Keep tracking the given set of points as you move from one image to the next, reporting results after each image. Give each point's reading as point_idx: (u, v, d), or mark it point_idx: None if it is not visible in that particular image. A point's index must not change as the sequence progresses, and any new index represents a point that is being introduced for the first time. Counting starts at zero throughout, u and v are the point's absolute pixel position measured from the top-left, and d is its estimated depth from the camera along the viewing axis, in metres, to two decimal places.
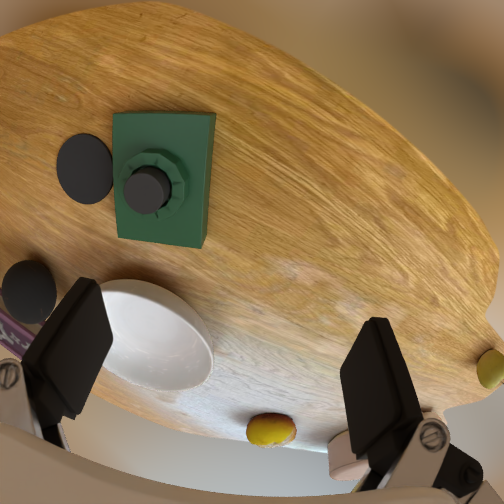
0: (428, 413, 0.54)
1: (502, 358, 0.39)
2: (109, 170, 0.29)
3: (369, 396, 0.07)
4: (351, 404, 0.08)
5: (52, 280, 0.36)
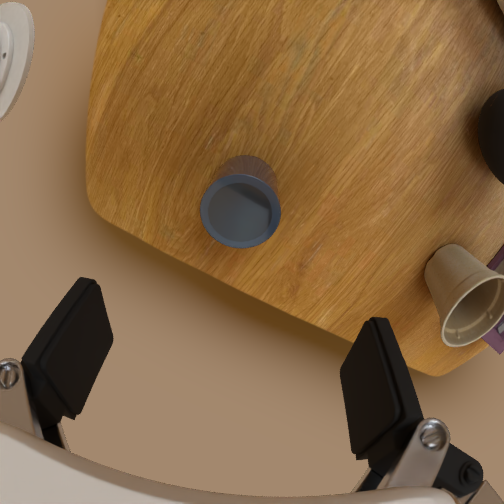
0: None
1: None
2: None
3: (369, 396, 0.07)
4: (351, 404, 0.08)
5: None
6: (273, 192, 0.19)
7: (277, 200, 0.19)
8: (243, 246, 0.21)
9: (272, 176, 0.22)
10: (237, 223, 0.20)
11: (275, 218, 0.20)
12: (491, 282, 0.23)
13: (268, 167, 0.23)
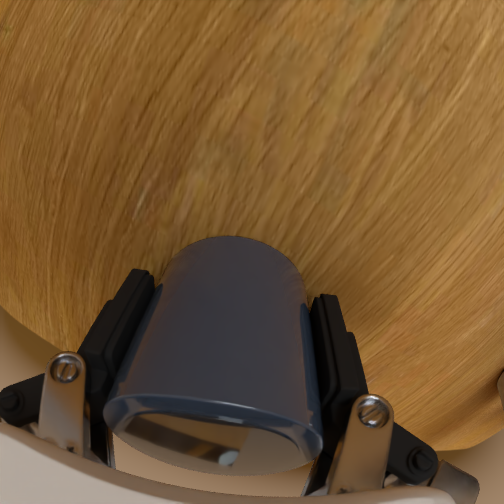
0: None
1: None
2: None
3: None
4: None
5: None
6: (310, 429, 0.05)
7: (318, 438, 0.05)
8: (226, 474, 0.07)
9: (301, 314, 0.08)
10: (206, 458, 0.06)
11: (306, 457, 0.06)
12: None
13: (289, 274, 0.09)
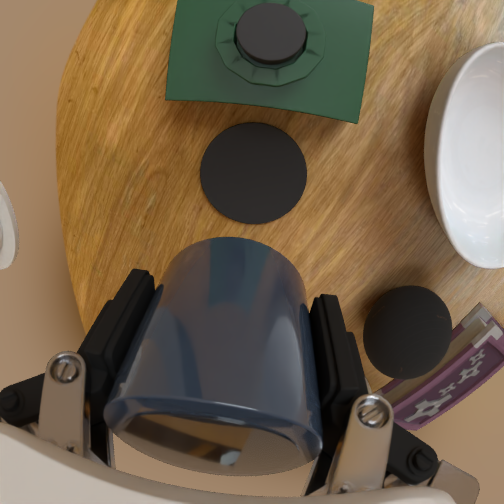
0: None
1: None
2: (257, 129, 0.22)
3: None
4: None
5: (405, 286, 0.26)
6: (309, 430, 0.05)
7: (318, 439, 0.05)
8: (226, 474, 0.07)
9: (301, 315, 0.08)
10: (206, 458, 0.06)
11: (306, 457, 0.06)
12: None
13: (288, 275, 0.09)
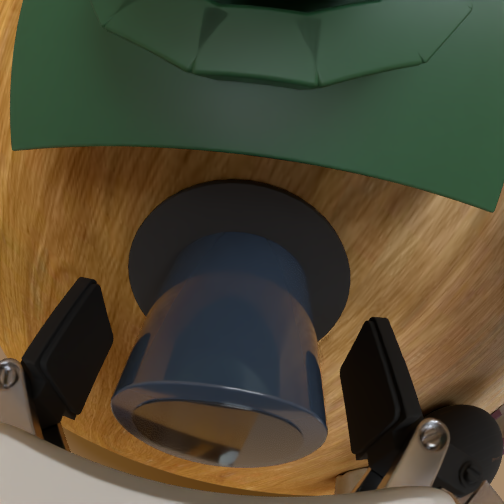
0: None
1: None
2: (243, 198, 0.09)
3: (369, 396, 0.07)
4: (351, 404, 0.08)
5: (458, 414, 0.14)
6: (314, 416, 0.05)
7: (322, 426, 0.06)
8: (231, 466, 0.07)
9: (304, 307, 0.08)
10: (211, 448, 0.07)
11: (310, 446, 0.06)
12: None
13: (292, 268, 0.09)
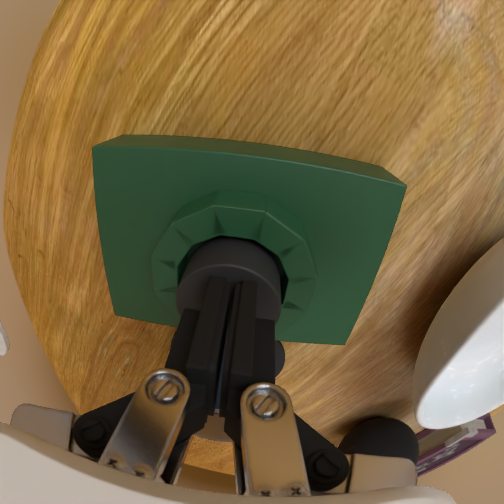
0: None
1: None
2: None
3: None
4: None
5: (379, 424, 0.24)
6: None
7: None
8: (225, 441, 0.18)
9: None
10: (216, 431, 0.17)
11: None
12: None
13: None
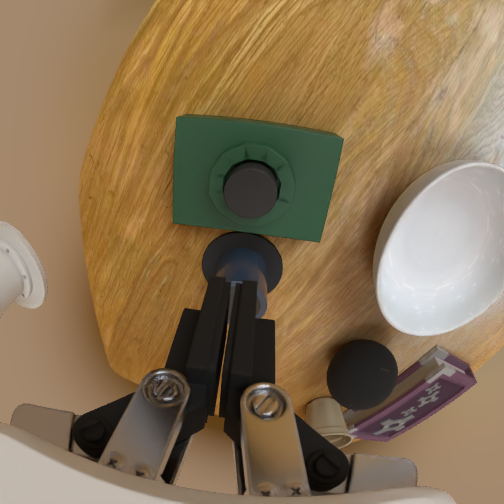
0: None
1: None
2: (244, 237, 0.30)
3: None
4: None
5: (361, 341, 0.35)
6: (261, 292, 0.26)
7: (264, 297, 0.27)
8: None
9: (262, 270, 0.29)
10: None
11: (263, 308, 0.27)
12: (345, 424, 0.42)
13: (259, 259, 0.30)
